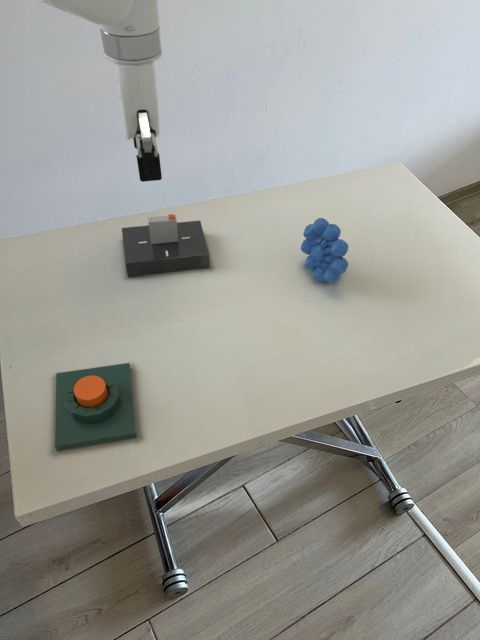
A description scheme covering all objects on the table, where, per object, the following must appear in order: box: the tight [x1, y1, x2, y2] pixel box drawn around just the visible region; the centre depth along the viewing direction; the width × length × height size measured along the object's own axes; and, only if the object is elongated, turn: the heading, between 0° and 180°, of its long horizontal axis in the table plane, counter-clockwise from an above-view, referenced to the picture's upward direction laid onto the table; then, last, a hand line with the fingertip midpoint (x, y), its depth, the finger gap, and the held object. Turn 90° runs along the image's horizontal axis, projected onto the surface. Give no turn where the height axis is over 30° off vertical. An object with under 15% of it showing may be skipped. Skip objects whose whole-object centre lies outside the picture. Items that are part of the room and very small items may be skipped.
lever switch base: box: [121, 219, 211, 278], centre depth 93 cm, size 14×10×3 cm
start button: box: [74, 376, 108, 408], centre depth 69 cm, size 4×4×2 cm
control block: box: [54, 362, 138, 452], centre depth 71 cm, size 10×12×3 cm
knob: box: [147, 213, 178, 244], centre depth 90 cm, size 5×2×5 cm, turn 103°
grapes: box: [300, 217, 349, 284], centre depth 87 cm, size 12×7×12 cm, turn 29°
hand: (147, 162), depth 82 cm, fingers open, 9 cm apart
